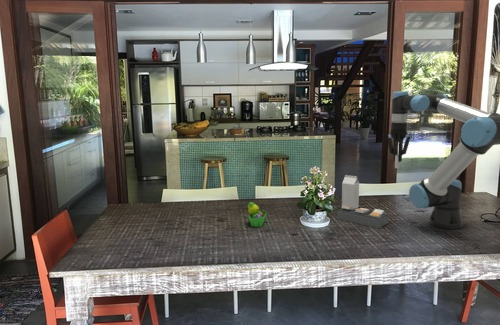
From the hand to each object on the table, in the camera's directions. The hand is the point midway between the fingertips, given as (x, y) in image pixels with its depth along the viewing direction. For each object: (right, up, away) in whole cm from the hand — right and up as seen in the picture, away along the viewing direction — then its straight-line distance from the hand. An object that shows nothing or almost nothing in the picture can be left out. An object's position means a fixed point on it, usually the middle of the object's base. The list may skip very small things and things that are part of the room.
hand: (397, 167), depth 208 cm
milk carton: (-19, -24, +21) cm, 37 cm away
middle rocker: (-19, -22, -3) cm, 30 cm away
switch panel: (-19, -27, -2) cm, 33 cm away
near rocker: (-13, -23, -8) cm, 28 cm away
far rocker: (-25, -22, +3) cm, 33 cm away
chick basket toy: (-73, -29, -3) cm, 78 cm away
